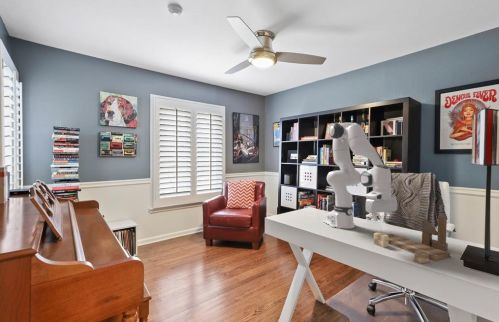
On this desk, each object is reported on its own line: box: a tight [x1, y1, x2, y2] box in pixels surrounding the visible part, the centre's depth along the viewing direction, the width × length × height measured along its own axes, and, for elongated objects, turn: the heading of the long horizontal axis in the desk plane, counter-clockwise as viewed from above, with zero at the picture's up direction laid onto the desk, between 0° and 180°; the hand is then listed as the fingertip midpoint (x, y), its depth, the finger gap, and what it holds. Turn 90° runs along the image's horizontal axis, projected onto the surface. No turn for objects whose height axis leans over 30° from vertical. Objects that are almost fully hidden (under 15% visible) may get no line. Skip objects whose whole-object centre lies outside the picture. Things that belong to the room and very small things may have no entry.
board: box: [385, 233, 452, 262], centre depth 132 cm, size 32×12×2 cm, turn 22°
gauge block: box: [373, 232, 389, 249], centre depth 135 cm, size 6×4×6 cm, turn 22°
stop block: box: [413, 251, 430, 265], centre depth 115 cm, size 3×6×4 cm, turn 112°
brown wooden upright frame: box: [421, 214, 449, 252], centre depth 132 cm, size 4×11×18 cm, turn 29°
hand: (381, 219), depth 134 cm, fingers open, 8 cm apart
